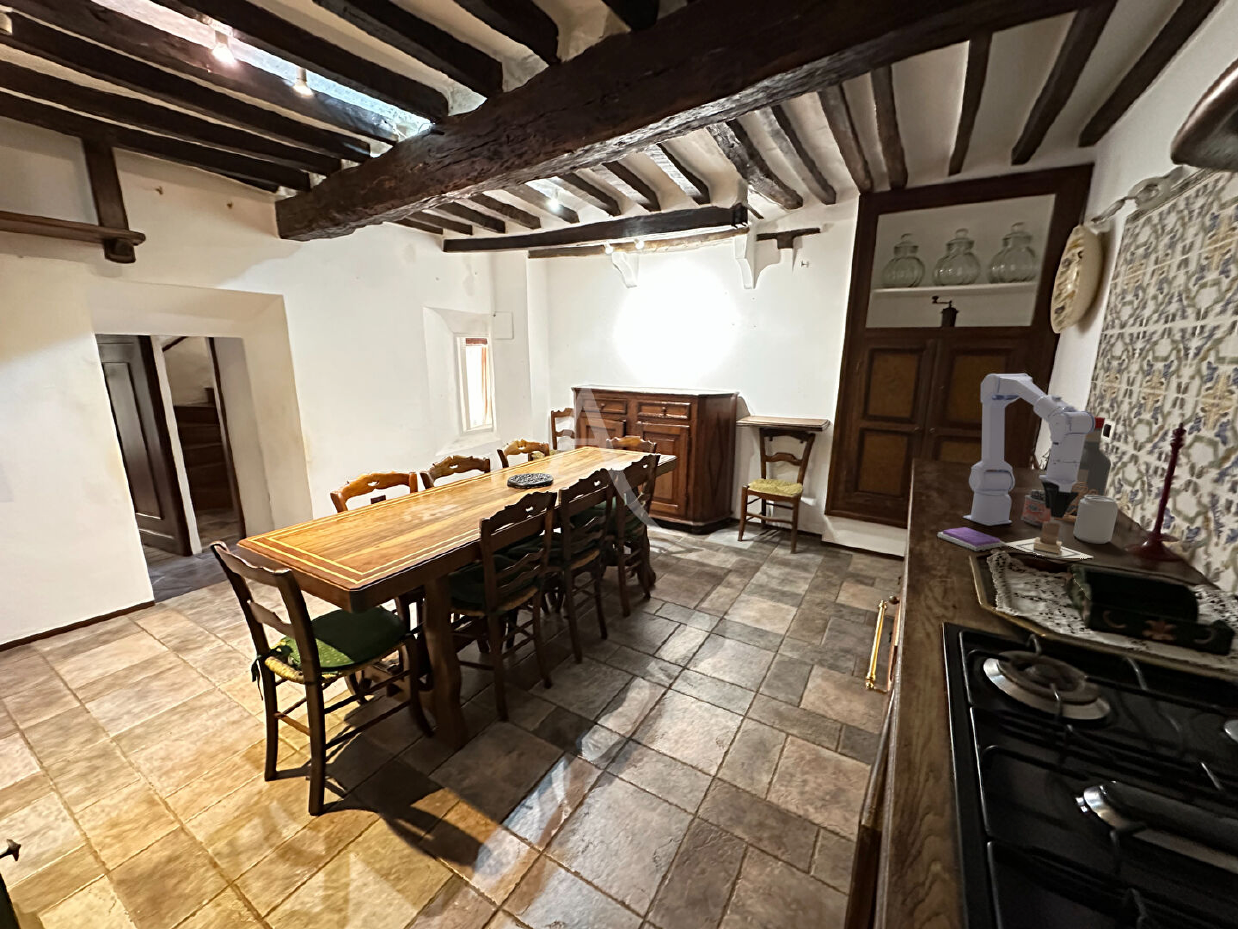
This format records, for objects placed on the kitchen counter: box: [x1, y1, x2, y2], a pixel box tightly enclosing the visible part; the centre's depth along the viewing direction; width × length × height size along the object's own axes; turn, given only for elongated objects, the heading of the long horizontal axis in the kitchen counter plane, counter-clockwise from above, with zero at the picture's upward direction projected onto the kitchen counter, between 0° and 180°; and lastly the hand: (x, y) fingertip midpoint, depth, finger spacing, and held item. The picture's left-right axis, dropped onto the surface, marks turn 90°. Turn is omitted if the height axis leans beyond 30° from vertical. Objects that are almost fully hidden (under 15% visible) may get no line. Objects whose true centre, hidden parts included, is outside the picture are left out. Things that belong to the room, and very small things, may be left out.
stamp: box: [1033, 521, 1063, 555], centre depth 123 cm, size 5×5×7 cm
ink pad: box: [937, 526, 1006, 552], centre depth 130 cm, size 10×11×2 cm
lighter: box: [1020, 489, 1052, 528], centre depth 143 cm, size 8×3×10 cm, turn 5°
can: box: [1072, 495, 1120, 545], centre depth 129 cm, size 8×8×12 cm
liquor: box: [1066, 416, 1112, 515], centre depth 151 cm, size 9×9×30 cm
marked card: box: [1004, 537, 1094, 560], centre depth 123 cm, size 12×13×1 cm
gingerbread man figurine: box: [1053, 482, 1098, 523], centre depth 144 cm, size 9×4×12 cm, turn 51°
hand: (1053, 512), depth 121 cm, fingers open, 7 cm apart
